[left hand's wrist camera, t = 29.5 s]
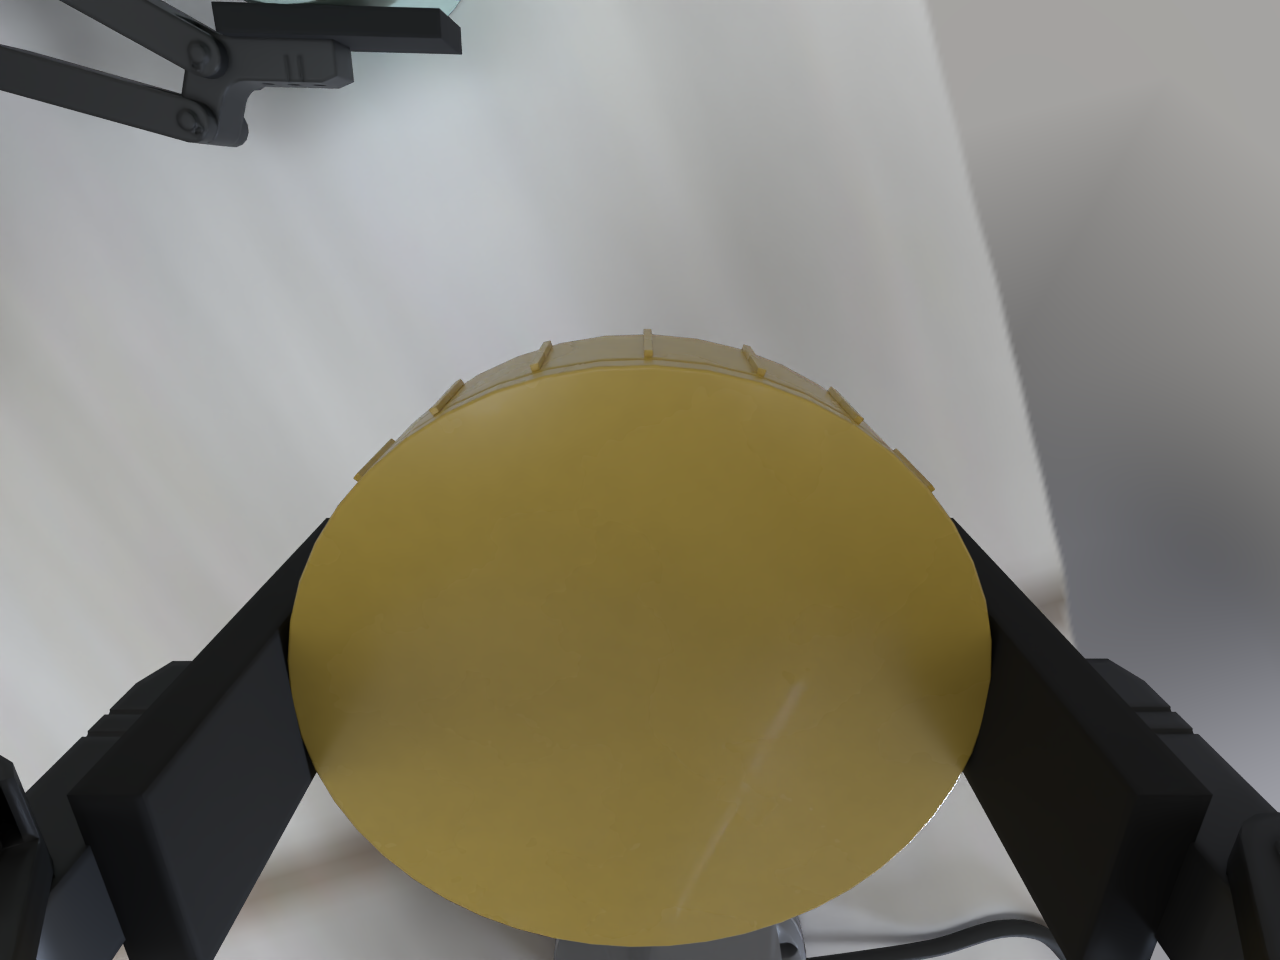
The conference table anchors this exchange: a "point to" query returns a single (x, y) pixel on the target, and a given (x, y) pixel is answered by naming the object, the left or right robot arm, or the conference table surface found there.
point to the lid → (639, 645)
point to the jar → (374, 3)
